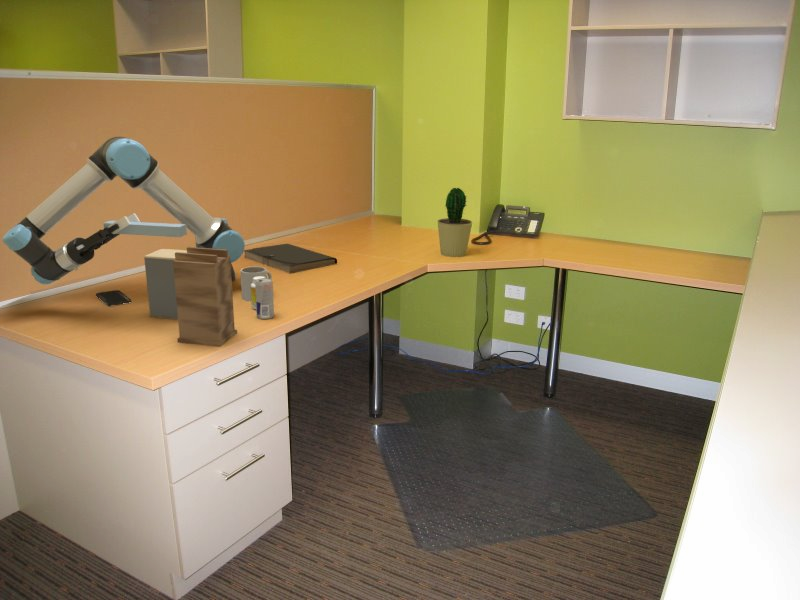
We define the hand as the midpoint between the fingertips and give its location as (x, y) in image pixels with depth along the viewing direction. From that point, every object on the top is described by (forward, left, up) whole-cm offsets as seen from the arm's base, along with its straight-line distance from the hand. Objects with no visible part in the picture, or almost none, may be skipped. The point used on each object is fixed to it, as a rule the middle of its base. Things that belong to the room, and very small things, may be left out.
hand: (132, 218), depth 191 cm
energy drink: (-12, +35, -32) cm, 49 cm away
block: (-8, +6, -32) cm, 33 cm away
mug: (-31, +25, -32) cm, 51 cm away
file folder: (-81, +18, -32) cm, 89 cm away
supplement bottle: (-20, +30, -32) cm, 48 cm away
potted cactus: (-112, +83, -32) cm, 143 cm away
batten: (0, +4, -4) cm, 6 cm away
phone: (-16, -21, -32) cm, 42 cm away
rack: (+9, +26, -32) cm, 42 cm away
